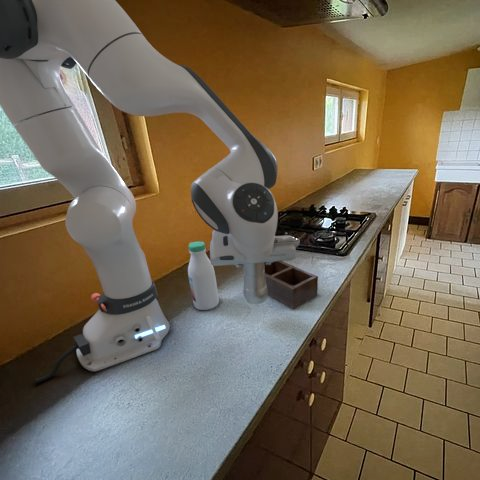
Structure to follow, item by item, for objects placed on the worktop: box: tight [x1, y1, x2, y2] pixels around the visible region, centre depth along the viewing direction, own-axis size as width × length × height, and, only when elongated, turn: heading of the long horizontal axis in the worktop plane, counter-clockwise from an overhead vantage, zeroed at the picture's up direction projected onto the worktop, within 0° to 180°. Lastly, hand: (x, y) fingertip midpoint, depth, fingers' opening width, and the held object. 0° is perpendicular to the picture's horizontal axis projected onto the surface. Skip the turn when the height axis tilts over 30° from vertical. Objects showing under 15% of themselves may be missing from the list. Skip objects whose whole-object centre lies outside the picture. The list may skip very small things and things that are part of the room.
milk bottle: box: [187, 240, 220, 311], centre depth 89 cm, size 8×8×20 cm
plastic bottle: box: [242, 262, 269, 305], centre depth 77 cm, size 6×7×20 cm
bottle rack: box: [264, 261, 319, 310], centre depth 97 cm, size 11×21×7 cm, turn 42°
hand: (253, 263), depth 77 cm, fingers closed on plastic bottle, 6 cm apart
